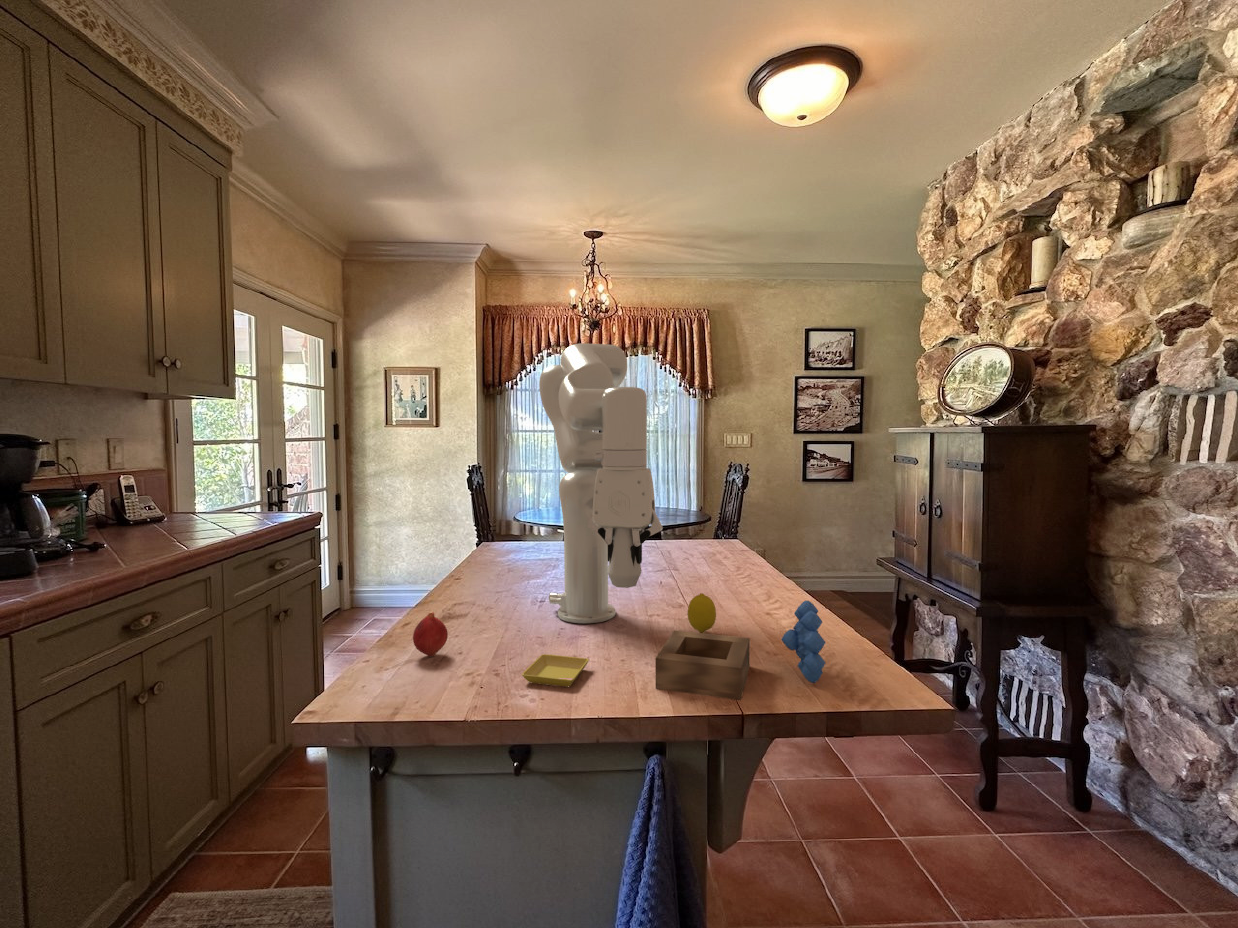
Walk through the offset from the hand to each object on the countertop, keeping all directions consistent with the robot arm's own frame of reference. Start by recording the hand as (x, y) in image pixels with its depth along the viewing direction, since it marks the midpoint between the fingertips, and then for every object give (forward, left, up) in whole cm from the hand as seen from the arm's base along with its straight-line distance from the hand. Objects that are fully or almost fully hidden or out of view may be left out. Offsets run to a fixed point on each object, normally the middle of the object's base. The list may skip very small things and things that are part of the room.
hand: (624, 565), depth 97 cm
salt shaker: (0, 0, -3) cm, 3 cm away
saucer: (-9, -9, -17) cm, 22 cm away
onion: (-34, -8, -17) cm, 39 cm away
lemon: (+10, +18, -17) cm, 27 cm away
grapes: (+29, +3, -17) cm, 34 cm away
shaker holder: (+14, -2, -17) cm, 22 cm away
